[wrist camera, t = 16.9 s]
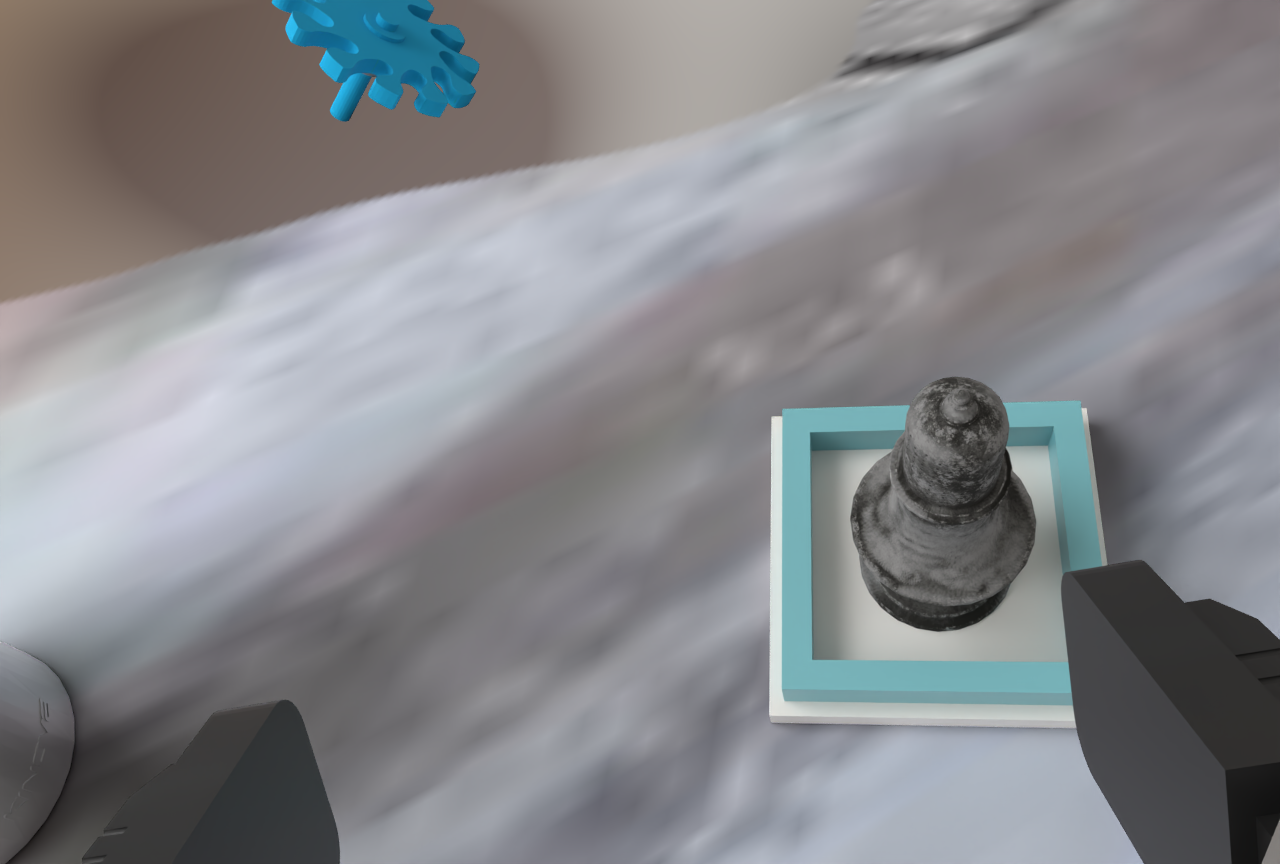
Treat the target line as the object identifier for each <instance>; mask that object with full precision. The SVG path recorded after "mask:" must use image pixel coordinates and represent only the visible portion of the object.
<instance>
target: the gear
mask: <svg viewBox="0 0 1280 864" xmlns="http://www.w3.org/2000/svg"><path fill="white" fill-rule="evenodd" d="M272 4H273V5H275V6H276V7H277V8H279V9H281V10H283V11H286V12H289V13H292V14H291V16H290V18H289V20H288V23H287V25H286V32H287V35H288V37H289V39H290V41H291V42H292V43H294V44H296V45H299V46H304V47H306V46H319V47H324V48H327V50H326V52H325V54H324V56H323V58H322V60H321V62H320V64H319V65H320V67H321V68H322V69H323V71H324V72H325V73H326V74H327V75H328V76H330V77H331V78H332V79H333V80H334V81H335V82H339V83H343V85H342V87H341V89H340V91H339V93H338V95H337V97H336V99H335V101H334V102H333V104H332V106H331V109H330V112H331V114H332V115H333V116H334V117H335V118H336V119H338V120H340V121H349V119H350V118H351V116H352V114H353V112H354V110H355V108H356V106H357V104H358V102H359V100H360V98H361V96H362V95H363V93H364V91H365V89H366V87H367V85H368V83H369V81H370V79H371V77H376V79H375V81H374V82H373V84H372V86H371V88H370V90H369V92H368V95H369V97H370V98H371V99H372V100H374V101H375V102H377V103H379V104H381V105H382V106H384V107H387V108H389V109H391V110H392V109H394V108H395V107H396V105H397V103H398V101H399V99H400V98H401V96H402V94H403V89H402V86H401V83H405V84H409V85H411V86H413V87H414V88H415V89H416V90H417V91H418V92H419V94H418V97H417V98H416V100H415V102H414V106H415V108H416V110H417V111H418V112H420V113H422V114H425V115H428V116H433V117H440V116H441V114H442V113H443V111H444V109H445V107H446V106H447V104H448V103H449V104H450V105H451V106H452V107H454V108H462V107H465V106H467V105H468V104H469V102H470V101H471V99H472V98H473V96H474V94H475V93H476V91H475V89H474V87H473V86H472V85H471V82H472V81H473V79H474V77H475V75H476V74H477V72H478V70H479V63H478V62H477V61H475V60H474V59H472V58H470V57H468V56H465V55H462V54H459V52H460V50H461V48H462V47H463V45H464V43H465V40H464V37H463V35H462V33H461V32H460V30H459V29H458V28H457V27H455V26H453V25H448V24H447V25H438V24H433V23H430V22H427V21H428V19H429V18H430V16H431V14H432V12H433V10H434V7H433V6H432V5H431V4H430V3H429V2H428V1H427V0H272ZM434 82H436V83H437V84H438V85H440V86H441V88H442V89H443V93H442V92H441V91H440V90H439V88H438V87H437V86H436V84H435V83H434Z"/></svg>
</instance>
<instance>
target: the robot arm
mask: <svg viewBox="0 0 1280 864" xmlns="http://www.w3.org/2000/svg"><path fill="white" fill-rule="evenodd" d="M1061 599H1062V609H1063V618H1064V627H1065V637H1066V646H1067V655H1068V664H1069V674H1070V683H1071V692H1072V701H1073V710H1074V717H1075V723H1076V728H1077V732H1078V736H1079V740H1080V744H1081V747H1082V751H1083V754H1084V757H1085V760H1086V762H1087V765H1088V767H1089V769H1090V772H1091V774H1092V776H1093V778H1094V779H1095V781H1096V783H1097V784H1098V786H1099V788H1100V790H1101V791H1102V793H1103V795H1104V796H1105V798H1106V800H1107V801H1108V803H1109V805H1110V807H1111V808H1112V810H1113V812H1114V813H1115V815H1116V817H1117V818H1118V820H1119V822H1120V824H1121V825H1122V827H1123V829H1124V830H1125V832H1126V834H1127V836H1128V837H1129V839H1130V841H1131V842H1132V844H1133V846H1134V847H1135V849H1136V851H1137V853H1138V854H1139V856H1140V858H1141V859H1142V861H1143V863H1144V864H1280V640H1279V639H1278V638H1277V637H1276V636H1275V635H1274V634H1273V633H1272V632H1271V631H1270V630H1269V629H1268V628H1267V627H1265V626H1264V625H1263V624H1262V623H1261V622H1260V621H1259V620H1258V619H1256V618H1254V617H1252V616H1249V615H1247V614H1245V613H1242V612H1240V611H1238V610H1235V609H1233V608H1231V607H1228V606H1226V605H1223V604H1221V603H1219V602H1216V601H1214V600H1212V599H1205V600H1199V601H1193V602H1186V603H1184V602H1183V601H1182V600H1181V599H1180V598H1179V597H1178V596H1177V595H1176V594H1175V592H1174V591H1173V590H1172V589H1171V588H1170V587H1169V586H1168V585H1167V584H1166V583H1165V582H1164V581H1163V580H1162V579H1161V578H1160V577H1159V576H1158V575H1157V574H1156V573H1155V572H1154V571H1153V570H1152V569H1151V567H1150V566H1149V565H1148V564H1147V563H1145V562H1144V561H1142V560H1136V561H1130V562H1124V563H1118V564H1112V565H1106V566H1100V567H1094V568H1088V569H1082V570H1076V571H1069V572H1065V573H1064V574H1063V576H1062V581H1061ZM74 743H75V734H74V715H73V711H72V707H71V703H70V698H69V696H68V694H67V692H66V690H65V688H64V686H63V684H62V682H61V680H60V679H59V677H58V676H57V675H56V674H55V673H54V672H53V671H52V670H51V669H50V668H49V667H48V666H47V665H46V664H45V663H43V662H41V661H40V660H38V659H36V658H34V657H33V656H31V655H29V654H27V653H25V652H23V651H21V650H19V649H17V648H14V647H12V646H10V645H8V644H6V643H4V642H2V641H0V864H6V863H7V862H8V861H9V860H10V859H11V858H12V857H13V856H14V855H15V854H16V853H18V852H19V851H20V850H21V849H22V848H23V847H24V846H25V845H26V844H27V843H28V842H29V841H30V839H31V838H32V837H33V836H34V834H35V833H36V832H37V831H38V829H39V828H40V827H41V826H42V824H43V823H44V822H45V821H46V819H47V817H48V815H49V814H50V812H51V810H52V808H53V807H54V805H55V803H56V801H57V800H58V798H59V796H60V794H61V791H62V789H63V786H64V783H65V780H66V778H67V775H68V772H69V770H70V765H71V760H72V754H73V749H74ZM82 861H83V863H82V864H339V863H340V849H339V838H338V832H337V827H336V823H335V820H334V817H333V813H332V810H331V807H330V804H329V801H328V798H327V795H326V791H325V788H324V785H323V782H322V779H321V776H320V772H319V769H318V766H317V763H316V760H315V757H314V753H313V750H312V747H311V744H310V741H309V738H308V735H307V731H306V728H305V725H304V722H303V719H302V717H301V715H300V713H299V711H298V709H297V708H296V706H295V705H294V704H293V703H292V702H290V701H289V700H279V701H273V702H267V703H261V704H255V705H249V706H243V707H237V708H231V709H225V710H219V711H217V712H215V713H213V715H212V716H211V717H210V718H209V719H208V721H207V722H206V723H205V725H204V726H203V727H202V729H201V730H200V731H199V733H198V734H197V735H196V737H195V738H194V739H193V741H192V742H191V743H190V745H189V746H188V747H187V749H186V750H185V751H184V753H183V754H182V755H181V757H180V758H179V759H178V761H177V762H176V763H175V764H172V765H170V766H169V767H168V768H166V769H165V770H164V771H162V772H161V773H160V774H159V775H157V776H156V777H155V778H153V779H152V780H151V781H150V782H148V783H147V784H146V785H144V786H143V787H142V788H141V789H139V790H138V791H137V792H135V793H134V794H133V795H132V796H130V797H129V799H128V800H127V801H126V802H125V804H124V805H123V806H122V808H121V809H120V810H119V811H118V813H117V814H116V815H115V817H114V818H113V819H112V820H111V822H110V823H109V824H108V826H107V827H106V828H105V830H104V836H103V837H98V839H97V840H96V841H95V842H94V844H93V845H92V846H91V848H90V849H89V850H88V851H87V853H86V854H85V855H84V857H83V858H82Z"/></svg>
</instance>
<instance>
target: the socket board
mask: <svg viewBox="0 0 1280 864" xmlns="http://www.w3.org/2000/svg"><path fill="white" fill-rule="evenodd" d="M1003 404H1004V406H1005V408H1006V412H1007V416H1008V421H1009V436H1008V441H1007V445H1006V449H1007V451H1008V453H1009V455H1010V459H1011V464H1012V471H1013V472H1014V473H1015V474H1016V475H1017V476H1018V477H1019V478H1020V479H1021V481H1022V483H1023V484H1024V486H1025V488H1026V490H1027V492H1028V494H1029V495H1030V497H1031V499H1032V504H1033V508H1034V513H1035V517H1036V532H1035V543H1034V546H1033V549H1032V551H1031V554H1030V556H1029V559H1028V561H1027V564H1026V565H1025V567H1024V568H1023V569H1022V570H1021V572H1020V573H1019V574H1018V575H1017V577H1016V578H1015V579H1014V580H1013V582H1012V583H1011V584H1010V587H1009V589H1008V592H1007V594H1006V597H1005V598H1004V599H1003V600H1002V602H1001V603H1000V604H999V606H998V607H997V608H996V609H995V611H994V612H992V613H991V614H990V615H988V616H987V617H985V618H984V619H983V620H981V621H980V622H978V623H976V624H974V625H971V626H968V627H965V628H962V629H960V630H953V631H942V632H935V631H929V630H923V629H917V628H914V627H912V626H910V625H907V624H905V623H902V622H900V621H898V620H896V619H895V618H894V617H892V616H891V615H890V614H888V613H887V612H886V611H884V610H883V609H882V608H881V607H880V606H879V605H878V603H877V602H876V601H875V600H874V598H873V597H872V596H871V595H870V593H869V591H868V589H867V587H866V584H865V582H864V580H863V578H862V574H861V567H860V560H859V553H858V551H857V548H856V546H855V544H854V542H853V536H852V529H851V522H850V516H851V509H852V503H853V497H854V495H855V492H856V490H857V488H858V486H859V484H860V482H861V480H862V478H863V477H864V475H865V474H866V473H867V472H868V471H869V470H870V469H871V467H872V466H873V465H874V464H875V463H876V462H877V461H878V460H880V459H881V458H883V457H884V456H886V455H887V454H889V453H890V452H892V450H893V448H894V445H895V443H896V441H897V440H898V438H899V437H900V436H901V435H902V434H903V433H904V431H905V423H906V415H907V412H908V409H909V407H910V405H905V406H870V407H834V408H799V409H782V416H776V417H772V440H771V572H770V704H769V716H770V720H771V723H809V724H863V725H918V726H972V727H1027V728H1076V723H1075V717H1074V710H1073V701H1072V692H1071V683H1070V674H1069V664H1068V655H1067V646H1066V637H1065V627H1064V618H1063V609H1062V599H1061V581H1062V576H1063V574H1064V573H1065V572H1069V571H1076V570H1082V569H1088V568H1094V567H1100V566H1106V565H1107V558H1106V551H1105V543H1104V536H1103V528H1102V521H1101V513H1100V506H1099V498H1098V491H1097V483H1096V476H1095V468H1094V461H1093V453H1092V446H1091V438H1090V431H1089V423H1088V416H1087V408H1081V401H1048V402H1012V403H1003Z"/></svg>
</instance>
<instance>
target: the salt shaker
mask: <svg viewBox="0 0 1280 864" xmlns="http://www.w3.org/2000/svg"><path fill="white" fill-rule="evenodd" d="M1008 436H1009V421H1008V416H1007V412H1006V408H1005V406H1004V404H1003V403H1002V401H1001V399H1000V397H999V396H998V395H997V394H996V393H995V392H994V391H993V390H992V389H991V388H989V387H987V386H986V385H984V384H983V383H981V382H978V381H975V380H973V379H970V378H962V377H950V378H943V379H940V380H937V381H935V382H932V383H930V384H929V385H927V386H926V387H925V388H923V389H922V390H921V391H920V392H919V393H918V394H917V396H916V397H915V398H914V399H913V401H912V403H911V405H910V407H909V409H908V412H907V415H906V423H905V431H904V433H903V434H902V435H901V436H900V437H899V438H898V440H897V441H896V443H895V445H894V448H893V450H892V452H890V453H889V454H887V455H886V456H884V457H883V458H881V459H880V460H878V461H877V462H876V463H875V464H874V465H873V466H872V467H871V469H870V470H869V471H868V472H867V473H866V474H865V475H864V477H863V478H862V480H861V482H860V484H859V486H858V488H857V490H856V492H855V495H854V497H853V503H852V509H851V516H850V522H851V529H852V536H853V542H854V544H855V546H856V548H857V551H858V553H859V560H860V567H861V574H862V578H863V580H864V582H865V584H866V587H867V589H868V591H869V593H870V595H871V596H872V597H873V598H874V600H875V601H876V602H877V603H878V605H879V606H880V607H881V608H882V609H883V610H884V611H886V612H887V613H888V614H890V615H891V616H892V617H894V618H895V619H896V620H898V621H900V622H902V623H905V624H907V625H910V626H912V627H914V628H917V629H923V630H929V631H935V632H942V631H953V630H960V629H962V628H965V627H968V626H971V625H974V624H976V623H978V622H980V621H981V620H983V619H984V618H985V617H987V616H988V615H990V614H991V613H992V612H994V611H995V609H996V608H997V607H998V606H999V604H1000V603H1001V602H1002V600H1003V599H1004V598H1005V597H1006V594H1007V592H1008V589H1009V587H1010V584H1011V583H1012V582H1013V580H1014V579H1015V578H1016V577H1017V575H1018V574H1019V573H1020V572H1021V570H1022V569H1023V568H1024V567H1025V565H1026V564H1027V561H1028V559H1029V556H1030V554H1031V551H1032V549H1033V546H1034V543H1035V532H1036V517H1035V513H1034V508H1033V504H1032V499H1031V497H1030V495H1029V494H1028V492H1027V490H1026V488H1025V486H1024V484H1023V483H1022V481H1021V479H1020V478H1019V477H1018V476H1017V475H1016V474H1015V473H1014V472H1013V471H1012V464H1011V459H1010V455H1009V453H1008V451H1007V449H1006V445H1007V441H1008Z"/></svg>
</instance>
